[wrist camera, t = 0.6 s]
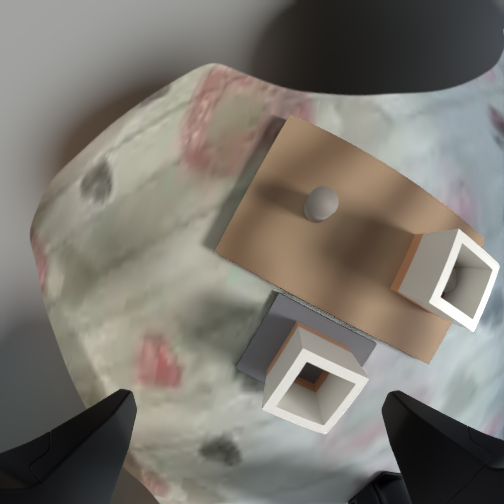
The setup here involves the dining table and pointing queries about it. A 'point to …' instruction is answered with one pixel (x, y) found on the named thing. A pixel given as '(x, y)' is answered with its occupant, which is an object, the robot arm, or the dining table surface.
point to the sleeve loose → (304, 392)
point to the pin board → (340, 234)
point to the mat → (278, 330)
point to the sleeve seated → (447, 276)
